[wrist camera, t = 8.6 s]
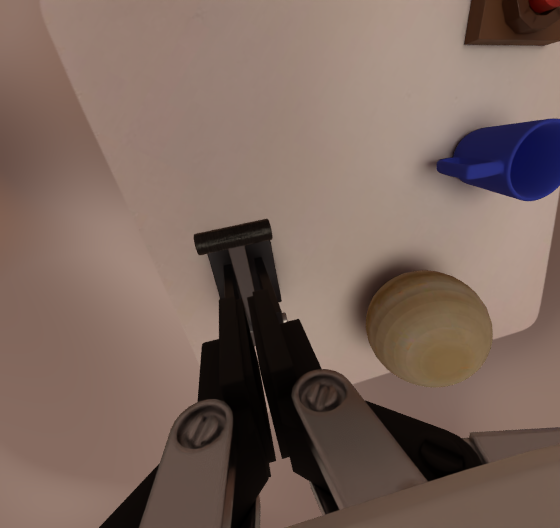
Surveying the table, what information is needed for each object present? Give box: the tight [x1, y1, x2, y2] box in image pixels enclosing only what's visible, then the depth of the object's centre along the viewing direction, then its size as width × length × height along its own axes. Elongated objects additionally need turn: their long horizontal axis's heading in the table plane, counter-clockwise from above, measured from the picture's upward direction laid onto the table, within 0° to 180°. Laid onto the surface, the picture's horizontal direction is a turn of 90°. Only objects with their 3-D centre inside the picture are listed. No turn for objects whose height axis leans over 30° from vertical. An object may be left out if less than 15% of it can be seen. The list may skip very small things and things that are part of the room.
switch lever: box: [194, 219, 272, 346], centre depth 25 cm, size 14×5×2 cm, turn 10°
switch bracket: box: [208, 240, 288, 324], centre depth 35 cm, size 10×8×15 cm
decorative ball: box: [366, 270, 492, 387], centre depth 41 cm, size 15×15×15 cm
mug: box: [437, 119, 560, 201], centre depth 36 cm, size 8×12×10 cm
